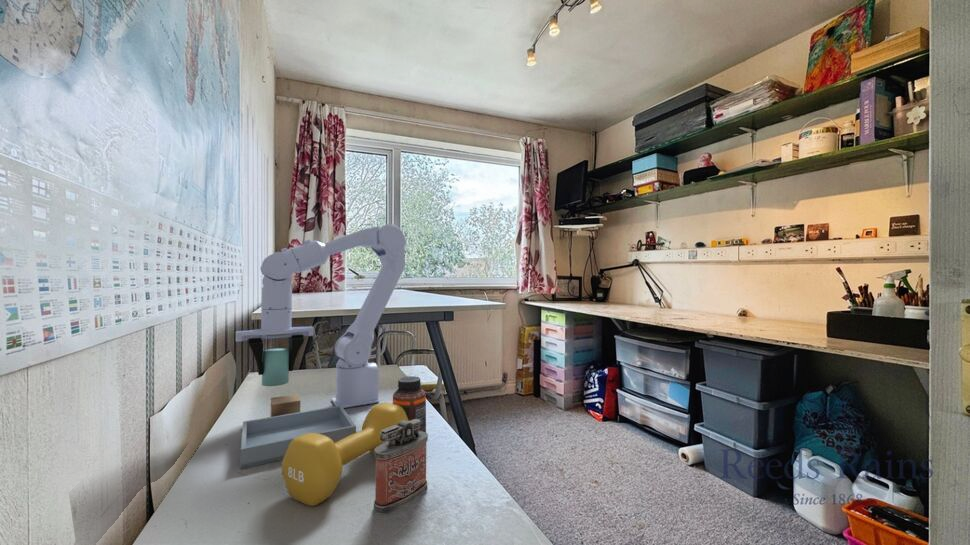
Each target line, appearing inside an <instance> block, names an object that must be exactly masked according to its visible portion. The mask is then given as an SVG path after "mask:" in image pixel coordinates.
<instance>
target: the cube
mask: <svg viewBox="0 0 970 545" xmlns="http://www.w3.org/2000/svg"><path fill="white" fill-rule="evenodd" d="M298 412H301V399H300V396H299V393H297V394H296V393H295V394H289V395H283V396H282V395H281V396H277V397H271V398H270V417H274V416H280V415H286V414H292V413H298Z"/></svg>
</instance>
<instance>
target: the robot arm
mask: <svg viewBox="0 0 970 545" xmlns="http://www.w3.org/2000/svg"><path fill="white" fill-rule="evenodd" d="M406 244H407V240H406V237H405V235H404V233H403V231H402V229H401V228H400V227H399V226H398V225H396V224H394V223H393V224H392V223H388V224H385V225H382V226H381V225H379V226H374V227H370V228H369V227H368V228H364V229H360V230H357V231H355V232H352V233H349V234H346V235H344V236H341V237H338V238H336V239H332V240H330V241H328V242H325V243H323V242H321V241H318V240H312V241H311V240H310V239H307V240H304V241H303V242H302V244H300V245H297V246H294V247H290V248H287V247H284V248H281V249H280V250H281V251H275V252H274V253H272V254H270V255H268V256H267V257H265V258H264V259H263V261H262V262H261V266H260V272H261V274H262V275H263V278H262V281H261V283H262V287H261V310H260V311H261V316H260V319H261V320H260V321H261V322H260V329H259V328H258V329H251V330H250V329H249V330H248V329H247V330H238V331H235V342H236V343H237V342H238V343H239V342H245V341H247V343H248V346H249V347H250V348H249V349H250V350H251V351H252V353H253V357H254V360H255V363H256V366H257V374H258V376H262V375H263V351H264V343H263V340H268V339H269V340H270V339H271V340H272V339H282V338H288V339H287V340H288V349H290V354H289V372H293V371H294V366H295V362H296V359H297V358H298V357H297V356H298V354H299V351H300V349H301V348H302V346H303V344H304V341H305V337H307V336H308V337H313V336H314V334H315V333H314V330H315V328H314V326H312V325H311V326H292V323H293V322H292V315H293V314H292V313H293V311H292V309H293V308H292V306H293V305H292V304H293V287H292V276H293V274H294V273H295V274H301V273H303V272H306V271H308V270H312V269H313V268H314V269H315V268H316V267H320V266H323V265H325V264H326V263H327V261H328V259H329V257H330V256H332V255H336V254H339V253H341V252H345V251H349V250H351V249H354V248H357V247H362V248H366V249H368V248H370V249H371V250H372V251H373V252H374V253H375V254H376V256H377V257H378V259H379V261H380V264H381V268H380V270H379V273H378V275H377V277H376V279H375V280H374V282H373V284H372V286H371V289H369V291H368V294H367V296H366V298H365V300H364V302H363V304H362V305H361V307H360V309H359V311H358V313H357V315H356V317H355V319H354V321H353V323H352V324H350V325H349V327H347V329H346V330H345V333H344V334H343V335H342V336H340V337H339V338H338V339H337V340H336V342H335V344H334V353H335V355H336V356H337V357H338V360H337V362H336V363H335V364H336V366H335V397H332V398H331V402H332V404H334V406H339V405H342V407H343V408H344V409H347V408H351V407H358V406H363V405H370V404H375V403H380V399H379V378H380V377H379V367H378V365H377V363H376V362H369V359H370V358H371V355H372V345H373V342H374V341H375V329H376V327H377V325H378V323H379V321H380V318H381V317H382V315H383V312H384V311H385V309H386V307H387V305H388V303H389V300H390V298H391V296H392V294H393V293H394V290H395V288H396V286H397V284H398V282H399V280H400V278H401V277H402V275H403V273H404V270H405V267H406V257H405V256H406V255H405V252H406V251H405V249H406V248H405V247H406Z"/></svg>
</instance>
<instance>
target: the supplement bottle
mask: <svg viewBox="0 0 970 545" xmlns="http://www.w3.org/2000/svg"><path fill="white" fill-rule="evenodd" d="M397 381H398V382H397V387H398V388H397V389H396V390H395V391H394V392H393V394H392V404H396V405H399V406H401V407H402V408H403V409H404V411H405V413H406V415H407V418H408V420H409V421H411V420H413V419H419V420H420V428H419V431H423V432H426V433H427V398H426V397H427V394H426V391H425V390H424V388H422V387H421V384H422V383H421V377H419V376H410V375H409V376H404V377H400V378H398V380H397Z"/></svg>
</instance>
